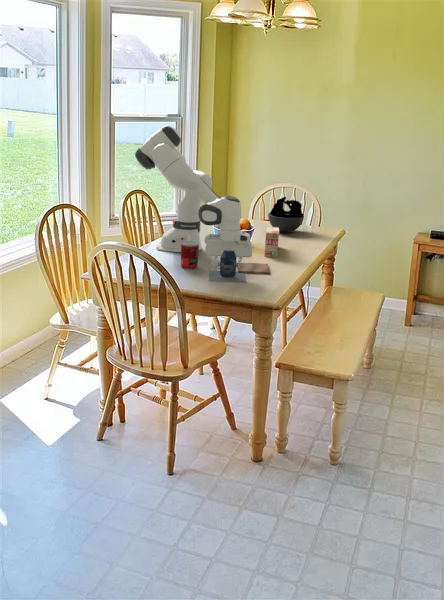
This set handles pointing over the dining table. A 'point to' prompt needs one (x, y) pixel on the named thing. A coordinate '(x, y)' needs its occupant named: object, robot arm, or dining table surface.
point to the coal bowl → (286, 215)
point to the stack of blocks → (271, 242)
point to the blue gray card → (237, 278)
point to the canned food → (189, 254)
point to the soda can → (228, 264)
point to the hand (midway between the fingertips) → (227, 266)
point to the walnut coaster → (253, 268)
